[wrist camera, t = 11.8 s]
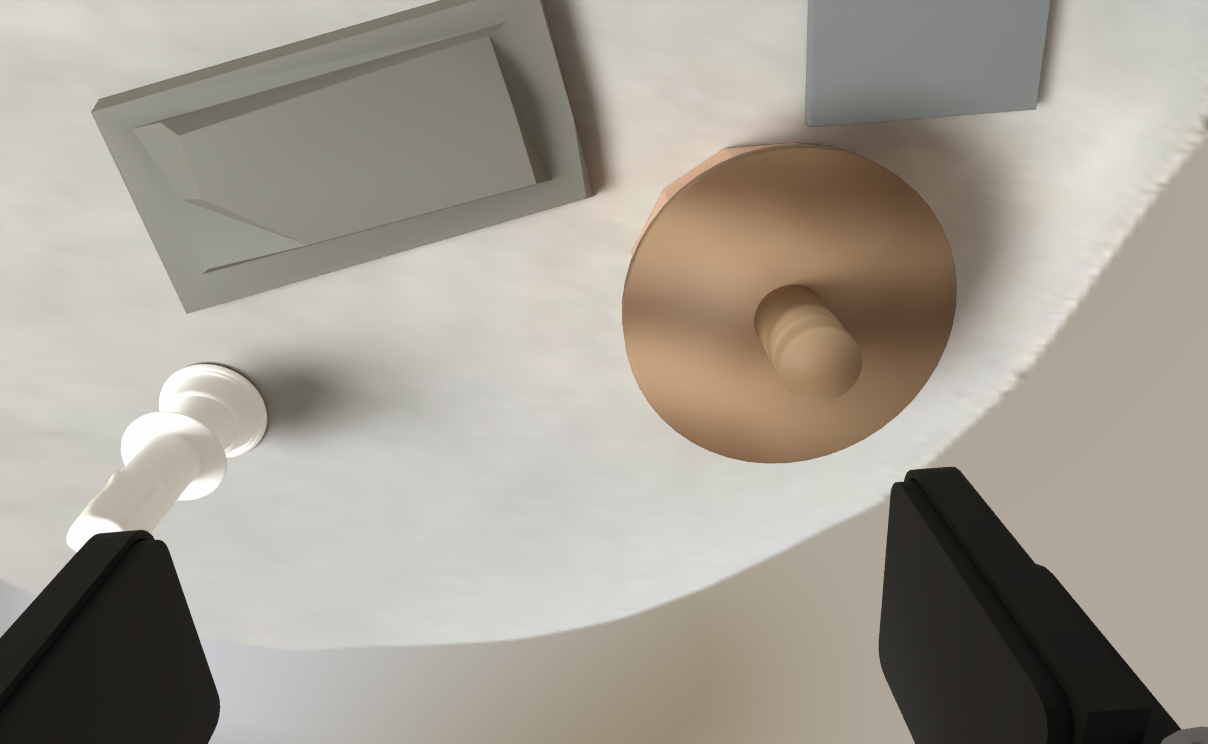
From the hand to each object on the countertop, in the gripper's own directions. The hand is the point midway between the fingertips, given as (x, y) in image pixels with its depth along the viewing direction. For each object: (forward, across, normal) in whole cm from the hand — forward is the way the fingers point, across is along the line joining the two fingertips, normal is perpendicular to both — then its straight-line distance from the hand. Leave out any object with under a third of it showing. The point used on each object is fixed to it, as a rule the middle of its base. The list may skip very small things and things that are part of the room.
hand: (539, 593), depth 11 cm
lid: (+25, -9, +6) cm, 28 cm away
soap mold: (+31, +9, -1) cm, 33 cm away
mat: (+30, -16, -7) cm, 35 cm away
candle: (+31, +19, +11) cm, 38 cm away
